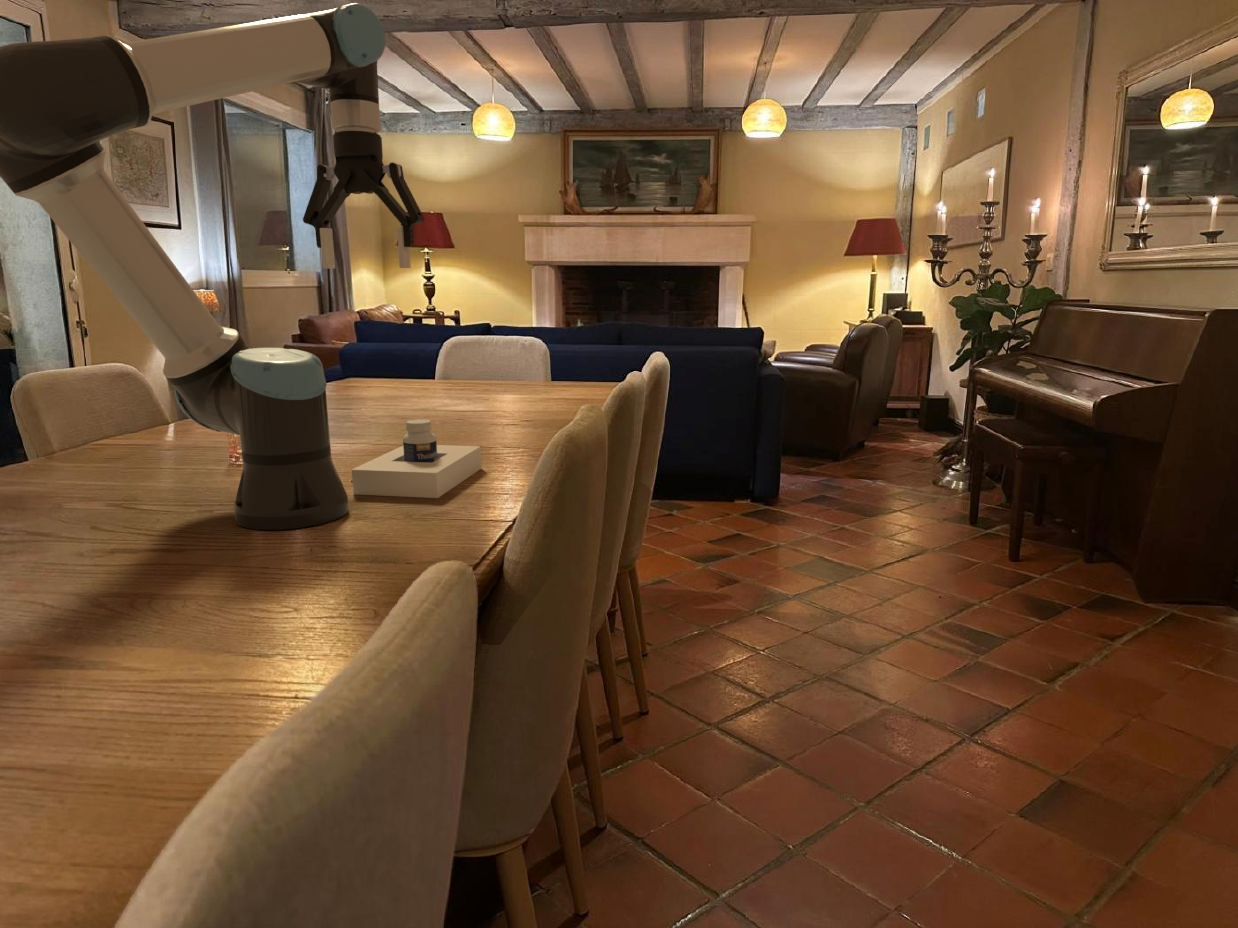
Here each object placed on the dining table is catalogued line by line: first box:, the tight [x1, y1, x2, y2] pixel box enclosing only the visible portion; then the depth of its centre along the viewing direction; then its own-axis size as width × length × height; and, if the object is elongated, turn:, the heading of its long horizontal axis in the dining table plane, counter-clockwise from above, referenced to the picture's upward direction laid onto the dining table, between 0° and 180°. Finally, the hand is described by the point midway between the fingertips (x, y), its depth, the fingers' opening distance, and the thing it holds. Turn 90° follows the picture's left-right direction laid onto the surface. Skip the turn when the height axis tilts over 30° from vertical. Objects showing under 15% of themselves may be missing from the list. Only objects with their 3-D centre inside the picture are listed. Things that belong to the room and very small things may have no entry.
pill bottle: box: [402, 418, 438, 463], centre depth 135 cm, size 5×5×10 cm
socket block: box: [351, 444, 483, 499], centre depth 136 cm, size 14×20×4 cm
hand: (366, 268), depth 136 cm, fingers open, 13 cm apart
